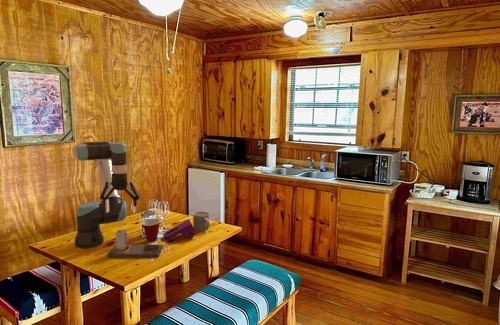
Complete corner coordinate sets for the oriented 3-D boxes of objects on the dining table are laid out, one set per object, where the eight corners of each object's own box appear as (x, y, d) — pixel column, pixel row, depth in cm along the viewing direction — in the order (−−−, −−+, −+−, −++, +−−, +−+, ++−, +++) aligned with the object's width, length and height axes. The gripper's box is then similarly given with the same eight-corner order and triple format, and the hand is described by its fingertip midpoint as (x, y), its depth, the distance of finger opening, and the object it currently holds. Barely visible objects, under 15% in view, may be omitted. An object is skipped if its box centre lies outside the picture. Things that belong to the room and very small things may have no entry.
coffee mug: (191, 227, 225) (190, 212, 223) (205, 225, 230) (205, 210, 229) (198, 234, 214) (198, 218, 212) (213, 231, 219) (213, 216, 217)
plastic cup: (140, 238, 204) (139, 219, 202) (158, 236, 209) (157, 217, 207) (143, 245, 194) (143, 225, 193) (162, 242, 200) (162, 222, 198)
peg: (116, 254, 182) (115, 232, 180) (119, 250, 186) (118, 229, 184) (125, 254, 182) (124, 232, 180) (127, 250, 187) (126, 229, 185)
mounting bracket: (170, 250, 203) (197, 235, 207) (163, 238, 201) (191, 223, 204) (168, 244, 212) (194, 229, 216) (162, 233, 210) (189, 218, 213)
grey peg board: (107, 257, 178) (107, 253, 178) (115, 248, 190) (115, 244, 190) (158, 257, 180) (158, 253, 179) (163, 248, 191) (163, 244, 191)
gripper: (91, 173, 173) (93, 214, 176) (141, 174, 174) (142, 214, 178) (97, 170, 180) (99, 209, 184) (145, 171, 182) (146, 210, 185)
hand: (120, 212), depth 181 cm, fingers open, 13 cm apart
